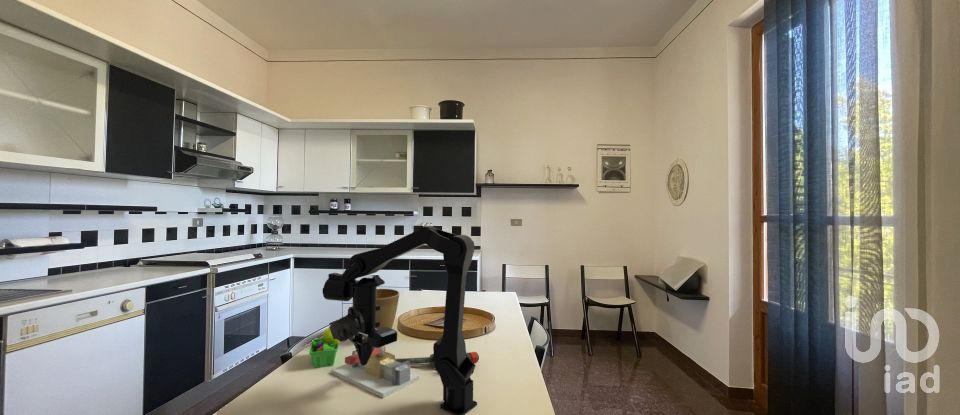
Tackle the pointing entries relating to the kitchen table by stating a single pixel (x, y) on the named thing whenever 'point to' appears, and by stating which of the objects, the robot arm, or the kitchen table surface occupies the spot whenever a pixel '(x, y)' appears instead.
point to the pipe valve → (386, 368)
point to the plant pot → (386, 307)
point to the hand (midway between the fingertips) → (363, 364)
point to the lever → (377, 351)
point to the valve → (471, 355)
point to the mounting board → (370, 380)
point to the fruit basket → (324, 350)
